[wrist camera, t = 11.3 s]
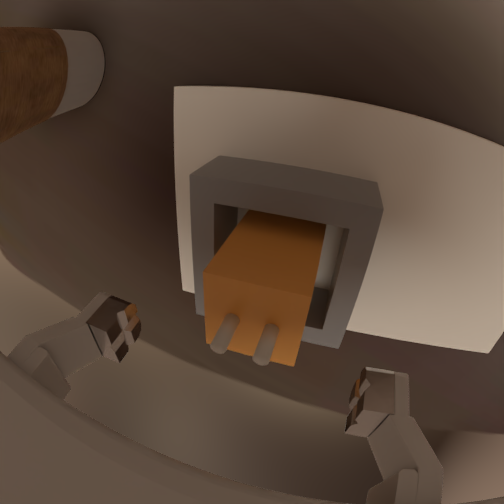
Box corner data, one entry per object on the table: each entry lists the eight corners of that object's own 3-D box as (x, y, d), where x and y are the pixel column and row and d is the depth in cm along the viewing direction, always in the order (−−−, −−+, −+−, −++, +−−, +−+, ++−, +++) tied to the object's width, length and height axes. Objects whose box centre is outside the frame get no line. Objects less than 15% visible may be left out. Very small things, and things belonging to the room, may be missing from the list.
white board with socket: (182, 85, 16) (135, 92, 12) (565, 176, 10) (604, 206, 7) (188, 282, 23) (159, 321, 19) (485, 343, 18) (497, 389, 14)
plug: (256, 200, 17) (183, 298, 10) (328, 214, 16) (304, 329, 9) (251, 260, 19) (191, 369, 12) (315, 274, 18) (285, 396, 11)
